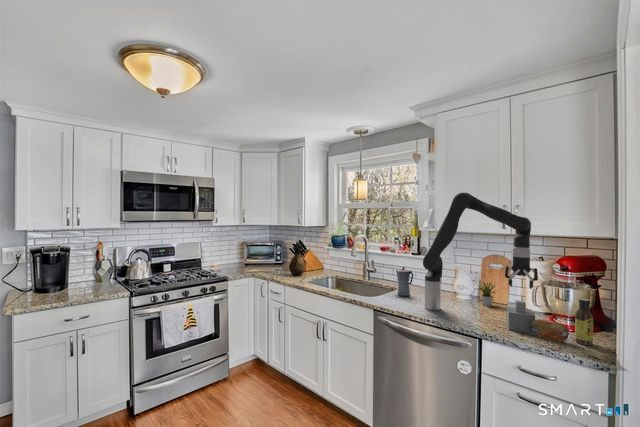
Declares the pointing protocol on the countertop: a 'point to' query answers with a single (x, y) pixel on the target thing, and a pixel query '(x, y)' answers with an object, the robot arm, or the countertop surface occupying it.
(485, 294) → the house plant
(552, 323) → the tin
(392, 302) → the countertop surface
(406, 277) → the moka pot
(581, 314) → the sauce bottle
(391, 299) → the countertop surface
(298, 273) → the pineapple
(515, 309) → the stacked grey blocks
